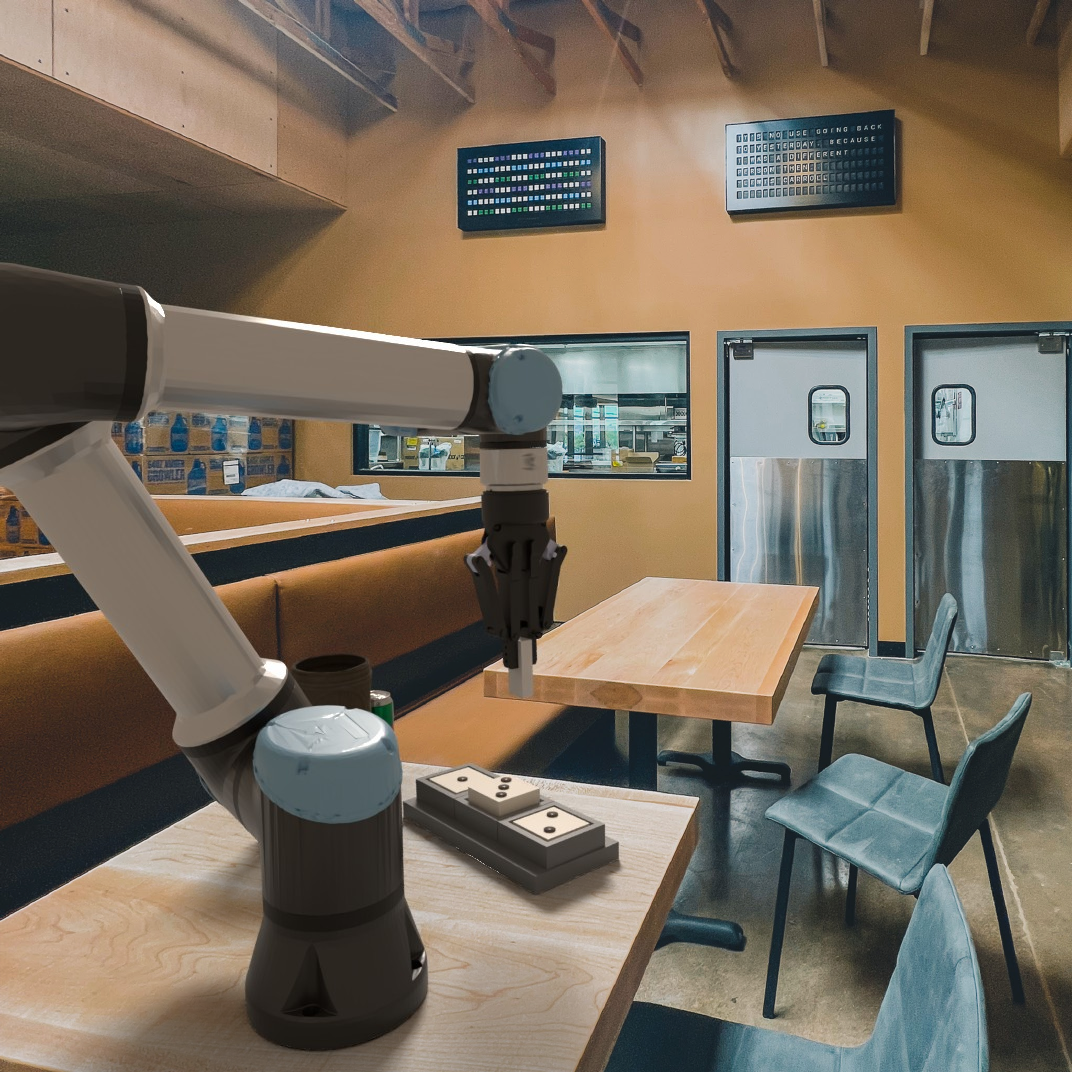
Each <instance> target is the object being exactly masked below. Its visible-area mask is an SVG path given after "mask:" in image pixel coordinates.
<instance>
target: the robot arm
mask: <svg viewBox="0 0 1072 1072" xmlns="http://www.w3.org/2000/svg"><path fill="white" fill-rule="evenodd" d="M561 376H562V375H561V374H560V371H559V369H558V367H557V364H556V363H555V362H554V361H553V359H552V358H551V357H550V356H548V354H546V353H545V352H543V351H542V350H541V349H540V348H539V347H538V346H535V345H532V344H531V345H530V344H526V343H525V344H522V343H518V344H517V343H516V344H507V343H506V344H490V345H484V346H482V347H476V346H468V345H467V346H466V345H456V344H454V343H447V342H439V341H433V340H432V341H431V340H422V339H416V338H409V337H401V336H396V335H395V336H394V335H388V334H387V335H386V334H381V333H375V332H374V333H373V332H367V331H361V330H352V329H344V328H337V327H330V326H325V325H324V326H323V325H315V324H308V323H299V322H295V321H294V322H293V321H287V320H286V321H285V320H279V319H274V318H273V319H272V318H264V317H258V316H250V315H242V314H238V313H237V314H234V313H228V312H221V311H215V310H207V309H199V308H194V307H193V308H192V307H186V306H185V307H184V306H179V305H172V304H171V305H170V304H162V303H158V302H156V301H155V300H154V299H153V298H152V297H151V296H150V295H149V293H148V292H146V290H145V289H144V288H143V287H142V286H139V285H136V284H135V285H133V284H127V283H121V282H114V281H107V280H102V279H97V278H92V277H91V278H90V277H86V276H81V275H76V274H71V273H66V272H65V273H64V272H60V271H56V270H49V269H46V268H45V269H43V268H39V267H34V266H29V265H23V264H18V263H12V262H3V261H2V262H1V261H0V487H1V488H4V489H5V488H6V489H7V490H9V491H11V492H12V493H13V495H14V496H15V497H16V498H17V500H18V502H19V503H20V504H21V505H22V506H23V508H24V509H25V511H26V512H27V513H28V515H29V516H30V517H31V519H32V520H33V522H34V523H35V524H36V525H37V526H36V527H38V528H39V529H40V531H41V532H42V533H43V536H45V538H46V539H47V540H48V542H49V543H50V545H51V546H52V547H53V548H54V550H55V552H56V553H57V554H58V555H59V556H60V558H61V559H62V561H63V562H64V563H65V565H66V567H68V569H69V570H70V571H71V572H72V574H73V575H74V577H75V578H76V579H77V581H78V582H79V584H80V585H81V586H82V588H83V589H84V590H85V591H86V593H87V594H88V597H90V599H91V600H92V601H93V602H94V604H95V605H96V607H97V608H98V610H100V612H101V613H102V614H103V616H104V618H105V619H106V620H107V621H108V623H109V624H110V625H111V627H112V628H113V630H114V631H115V632H116V633H117V635H118V637H120V639H121V640H122V641H123V643H124V644H125V645H126V647H127V648H128V649H129V651H130V652H131V653H132V656H134V658H135V659H136V661H137V662H138V663H139V665H140V666H141V667H142V668H143V670H144V672H146V674H147V676H149V678H150V679H151V680H152V682H153V683H154V684H155V686H156V687H157V689H158V690H159V692H160V693H161V694H162V696H163V697H164V698H165V699H166V700H167V702H168V704H169V705H170V706H171V708H172V709H173V710H174V712H175V713H176V716H175V720H174V724H173V728H172V740H173V741H174V743H175V744H176V745H177V747H178V748H179V749H180V750H181V752H182V753H183V754H184V755H185V756H186V758H187V760H188V761H189V762H190V764H191V765H192V766H193V768H194V769H195V772H196V774H197V775H198V777H199V782H200V783H201V785H202V787H203V789H204V790H205V791H206V793H208V794H209V796H210V797H211V798H212V799H213V800H214V801H215V802H216V803H218V804H219V805H220V806H222V807H223V808H225V809H226V810H227V811H228V812H229V813H230V815H231V816H233V818H235V820H236V821H238V823H240V825H241V826H243V827H244V829H245V830H246V831H247V832H249V834H250V835H251V836H252V837H253V839H255V840H256V841H257V844H258V847H259V858H260V872H261V873H260V874H261V877H260V878H261V891H262V892H261V894H262V912H263V913H262V919H261V923H260V926H259V930H258V933H257V937H256V941H255V943H254V948H253V951H252V955H251V958H250V962H249V966H248V968H247V972H246V977H245V982H244V984H245V985H244V995H245V1012H246V1013H245V1014H246V1017H247V1020H248V1022H249V1024H250V1025H251V1027H252V1028H253V1029H254V1031H256V1033H258V1034H259V1035H260V1036H262V1037H263V1038H264V1039H267V1040H268V1041H270V1042H272V1043H276V1044H278V1045H281V1046H284V1047H286V1048H287V1047H288V1048H292V1049H300V1050H310V1051H314V1050H331V1049H340V1048H346V1047H350V1046H355V1045H358V1044H361V1043H365V1042H367V1041H370V1040H373V1039H375V1038H377V1037H380V1036H382V1035H385V1034H386V1033H388V1032H391V1031H392V1030H393V1029H395V1028H396V1027H398V1026H400V1025H401V1024H403V1023H404V1022H405V1021H406V1020H408V1019H409V1018H410V1017H411V1016H412V1015H414V1013H415V1012H416V1011H417V1009H419V1008H420V1006H421V1004H422V1002H424V999H425V997H426V995H427V992H428V988H429V972H428V971H429V969H428V956H427V951H426V948H425V946H424V943H423V941H422V937H421V935H420V932H419V929H418V927H417V924H416V922H415V919H414V917H413V914H412V912H411V909H410V907H409V904H408V901H407V899H406V895H405V894H406V893H405V872H404V871H405V870H404V869H405V866H404V834H403V832H404V831H403V801H402V800H403V797H402V796H403V795H402V783H403V775H404V773H403V763H402V760H401V757H400V756H401V755H400V749H399V743H398V738H397V736H396V733H395V730H394V731H393V729H392V728H391V727H390V725H389V724H388V723H387V722H385V721H384V720H383V719H381V718H380V717H378V716H377V715H375V714H373V713H370V712H368V711H364V710H361V709H357V708H356V709H351V710H348V709H346V707H345V706H329V705H327V706H312V704H311V703H310V701H309V700H308V698H307V697H306V695H305V694H304V692H303V691H302V689H301V688H300V686H299V685H298V683H297V682H296V680H295V679H294V677H293V676H292V674H291V670H289V668H288V667H287V666H286V664H285V663H284V662H283V661H281V660H278V659H271V658H264V657H260V655H259V653H257V651H256V650H255V648H254V647H253V645H252V644H251V642H250V641H249V639H248V637H247V636H246V635H245V634H244V632H243V631H242V629H241V628H240V626H239V624H238V623H237V621H236V620H235V618H234V617H233V616H232V614H231V613H230V611H229V609H228V608H227V607H226V605H225V604H224V602H223V601H222V599H221V597H220V596H219V595H218V594H217V592H216V590H215V589H214V588H213V586H212V585H211V583H210V581H209V580H208V579H207V577H206V575H205V573H204V572H203V571H202V570H201V568H200V566H199V565H198V563H197V562H196V561H195V559H194V557H193V556H192V554H191V553H190V552H189V550H188V549H187V548H186V546H185V545H184V543H183V541H182V540H181V538H180V537H179V535H178V533H177V532H176V531H175V530H174V528H173V526H171V524H170V522H169V521H168V520H167V518H166V516H165V515H164V514H163V512H162V510H161V509H160V507H159V506H158V505H157V502H156V501H155V500H154V499H153V497H152V495H151V494H150V493H149V491H148V490H147V488H146V486H145V485H144V484H143V482H142V481H141V479H140V478H139V477H138V475H137V473H136V472H135V470H134V469H133V467H132V466H131V464H130V463H129V461H128V460H127V459H126V457H125V455H124V454H123V452H122V451H121V450H120V448H119V446H118V445H117V443H116V442H115V441H114V440H113V439H114V438H112V428H113V423H114V422H117V423H118V422H120V423H122V422H123V423H138V422H140V420H142V418H144V417H145V416H146V415H148V414H149V413H150V412H153V411H163V412H165V411H166V412H180V413H181V412H182V413H196V414H197V413H198V414H210V415H212V414H213V415H224V416H239V417H251V418H253V417H255V418H267V419H268V418H270V419H285V420H298V421H299V420H300V421H311V422H312V421H313V422H326V423H327V422H328V423H330V422H331V423H343V424H360V425H374V426H378V427H379V429H381V431H382V432H383V433H385V434H386V435H388V436H391V437H405V438H406V437H409V438H411V439H414V438H416V437H444V436H446V437H447V436H448V437H449V436H469V435H471V436H472V435H473V436H475V435H478V442H479V444H478V445H479V447H478V448H479V480H480V481H479V483H480V485H482V486H483V487H484V486H485V490H482V493H481V494H480V499H481V500H480V502H481V503H480V504H481V505H480V507H481V521H482V524H483V527H484V531H483V534H482V537H481V540H480V544H481V545H480V546H479V547H478V548H477V549H476V550H475V551H474V552H473V553H466V554H464V555H463V558H462V561H463V563H464V565H465V567H466V568H467V570H468V571H469V573H470V574H471V577H472V581H473V585H474V588H475V589H474V590H475V592H476V597H477V601H478V606H479V609H480V613H481V616H482V620H483V625H484V628H485V632H486V634H487V635H488V636H491V637H496V638H499V639H500V640H501V647H502V648H501V651H502V665H503V667H504V668H506V669H508V693H509V694H510V695H513V696H515V697H518V698H521V699H527V698H530V697H533V696H534V674H533V673H534V670H533V669H534V667H533V665H536V664H537V661H538V645H537V644H538V643H537V640H540V639H541V638H542V637H543V636H544V633H543V631H544V630H546V631H548V630H550V629H551V627H552V623H553V618H554V617H553V616H554V611H555V610H554V609H555V605H556V600H557V599H556V598H557V591H558V586H559V580H560V572H561V567H562V564H563V563H564V560H565V558H566V556H567V554H568V546H566V545H563V544H558V543H557V542H556V541H554V540H552V539H551V534H550V531H549V529H548V526H547V521H548V520H549V519H550V499H549V497H550V496H549V493H550V492H549V491H548V489H547V488H545V487H544V485H546V484H547V483H548V482H549V470H548V469H549V468H548V467H549V466H548V464H549V463H548V461H549V460H548V442H547V441H548V437H547V436H548V435H547V434H548V433H547V431H548V429H547V428H548V427H547V426H548V425H550V424H551V423H552V422H553V421H554V420H555V418H556V416H557V415H558V413H559V411H560V409H561V405H562V402H563V393H564V392H563V381H562V380H563V379H562V377H561ZM492 563H493V565H494V574H493V571H492V569H491V566H492ZM494 577H495V578H494ZM495 579H496V580H497V585H496V581H495Z"/></svg>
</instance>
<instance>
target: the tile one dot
mask: <svg viewBox="0 0 1072 1072" xmlns="http://www.w3.org/2000/svg"><path fill="white" fill-rule="evenodd" d="M492 779H493V778H491V777H488V776H486V775H484V774H482V773H480V772H478V771H475V770H473V769H471V768H469V767H467V768H464V769H461V770H457V771H454V772H451V773H447V774H444V775H440V776H437V777H434V778H430V779H429V781H430V782H431V783H433V784H435V785H437V786H439V787H441V788H443V789H445V790H447V791H449V792H451V793H453V794H455V795H457V794H460V793H463V792H466V791H468V787H469V786H472V785H476V784H479V783H482V782H485V781H488V780H492Z"/></svg>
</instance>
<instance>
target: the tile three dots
mask: <svg viewBox="0 0 1072 1072" xmlns="http://www.w3.org/2000/svg"><path fill="white" fill-rule="evenodd" d="M540 795H541V788H540V787H538V786H536V785H533V784H531V783H529V782H526V781H525V780H522V779H520V778H517V777H516V776H513V775H511V774H509V773H508V774H504V775H501V777H498V778H495V779H492V780H488V781H485V782H482V783H479V784H476V785H472V786H469V787H468V802H470V803H472V804H474V805H476V806H478V807H480V808H482V809H484V810H486V811H488V812H490V813H492V814H494V815H496V816H498V817H500V816H503V815H505V814H508V813H511V812H514V811H517V810H520V809H523V808H525V807H528V806H531V805H534V804H537V803H540Z"/></svg>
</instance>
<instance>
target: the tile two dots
mask: <svg viewBox="0 0 1072 1072" xmlns="http://www.w3.org/2000/svg"><path fill="white" fill-rule="evenodd" d="M513 825H515V826H517V827H519V828H521V829H523V830H525V831H527V832H529V833H531V834H533V835H535V836H537V837H538V838H540V839H542V840H544V841H546V842H549V841H552V840H554V839H557V838H559V837H562V836H564V835H567V834H570V833H572V832H575V831H577V830H580V829H582V828H585V827H588V826H590V823H588V822H586V821H583V820H581V819H579V818H577V817H575V816H573V815H570V814H568V813H566V812H564V811H562V810H560V809H557V808H555V807H552V808H549V809H547V810H544V811H541V812H538V813H535V814H533V815H530V816H527V817H524V818H521V819H519V820H516V821H513Z"/></svg>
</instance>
